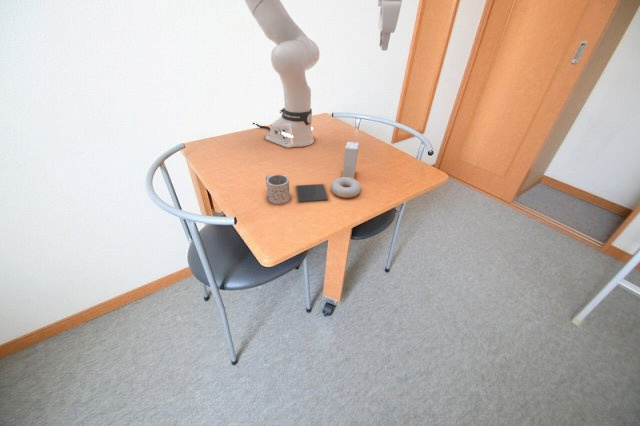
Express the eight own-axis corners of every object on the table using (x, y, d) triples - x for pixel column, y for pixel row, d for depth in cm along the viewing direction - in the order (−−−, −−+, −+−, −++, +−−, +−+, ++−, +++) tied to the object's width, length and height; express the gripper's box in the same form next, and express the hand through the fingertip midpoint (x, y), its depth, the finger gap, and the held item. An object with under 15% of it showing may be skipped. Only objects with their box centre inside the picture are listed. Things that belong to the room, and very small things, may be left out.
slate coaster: (322, 185, 93) (322, 184, 93) (327, 200, 86) (327, 198, 86) (296, 187, 92) (296, 185, 91) (299, 202, 85) (299, 200, 84)
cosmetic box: (353, 181, 96) (357, 149, 89) (341, 179, 97) (344, 148, 89) (355, 173, 101) (359, 142, 94) (344, 171, 101) (347, 141, 94)
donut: (357, 183, 95) (328, 183, 94) (358, 175, 93) (329, 174, 92) (363, 199, 87) (332, 200, 86) (364, 190, 85) (333, 190, 84)
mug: (293, 198, 86) (293, 180, 82) (276, 206, 83) (274, 188, 79) (276, 185, 92) (274, 168, 88) (259, 192, 88) (256, 174, 84)
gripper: (377, -7, 85) (371, 44, 94) (381, -11, 69) (374, 51, 77) (398, -7, 85) (390, 45, 93) (406, -11, 69) (396, 52, 77)
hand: (383, 48), depth 85 cm, fingers open, 8 cm apart
